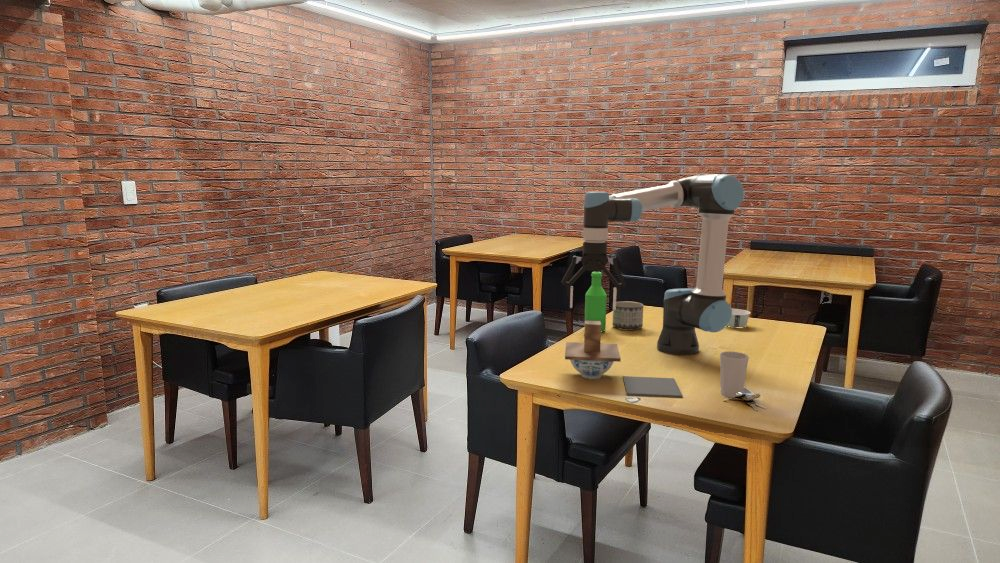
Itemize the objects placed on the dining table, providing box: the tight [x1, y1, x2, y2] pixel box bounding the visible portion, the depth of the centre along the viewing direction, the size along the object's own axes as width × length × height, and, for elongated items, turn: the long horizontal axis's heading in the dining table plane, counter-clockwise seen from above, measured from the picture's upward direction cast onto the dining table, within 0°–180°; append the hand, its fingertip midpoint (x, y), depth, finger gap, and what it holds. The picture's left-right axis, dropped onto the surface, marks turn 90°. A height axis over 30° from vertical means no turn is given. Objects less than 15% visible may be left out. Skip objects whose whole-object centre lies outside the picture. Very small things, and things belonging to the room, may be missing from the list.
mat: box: [622, 375, 684, 398], centre depth 187 cm, size 16×16×1 cm
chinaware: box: [569, 360, 615, 380], centre depth 198 cm, size 15×15×8 cm
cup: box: [719, 350, 750, 399], centre depth 181 cm, size 8×8×12 cm
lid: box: [564, 320, 621, 363], centre depth 196 cm, size 17×17×10 cm
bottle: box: [584, 271, 608, 332], centre depth 256 cm, size 9×9×25 cm
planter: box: [612, 300, 644, 330], centre depth 262 cm, size 13×13×10 cm
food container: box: [727, 308, 751, 327], centre depth 267 cm, size 12×12×6 cm
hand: (592, 307), depth 195 cm, fingers open, 13 cm apart
